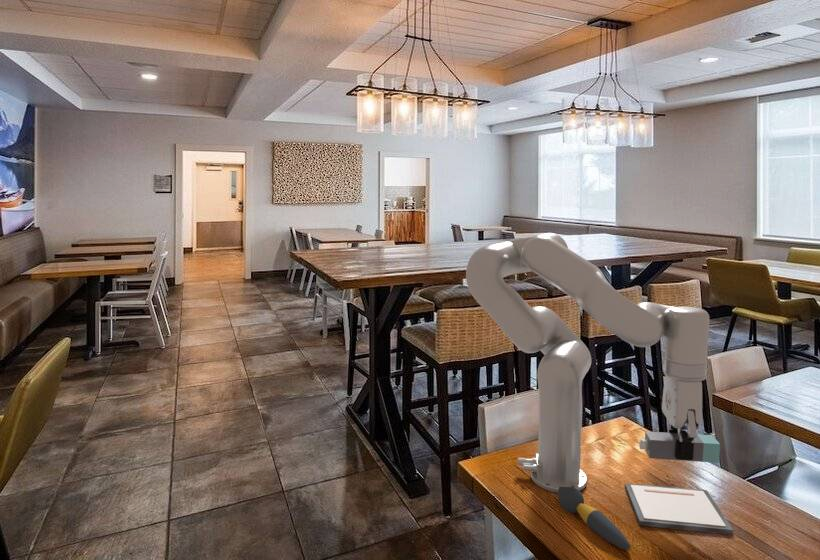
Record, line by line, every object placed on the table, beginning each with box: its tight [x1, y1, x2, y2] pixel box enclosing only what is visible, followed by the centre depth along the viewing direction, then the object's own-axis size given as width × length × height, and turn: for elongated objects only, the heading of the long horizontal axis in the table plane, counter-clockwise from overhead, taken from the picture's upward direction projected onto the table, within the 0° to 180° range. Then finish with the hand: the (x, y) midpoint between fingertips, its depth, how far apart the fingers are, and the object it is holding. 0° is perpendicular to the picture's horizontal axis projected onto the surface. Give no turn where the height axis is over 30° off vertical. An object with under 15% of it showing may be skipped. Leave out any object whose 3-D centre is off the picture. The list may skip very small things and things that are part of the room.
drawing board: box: [624, 482, 734, 535], centre depth 108 cm, size 17×14×1 cm
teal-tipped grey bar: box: [638, 430, 721, 464], centre depth 106 cm, size 14×4×4 cm, turn 79°
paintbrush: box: [557, 486, 631, 551], centre depth 103 cm, size 20×5×5 cm, turn 30°
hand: (680, 452), depth 106 cm, fingers closed on teal-tipped grey bar, 4 cm apart
